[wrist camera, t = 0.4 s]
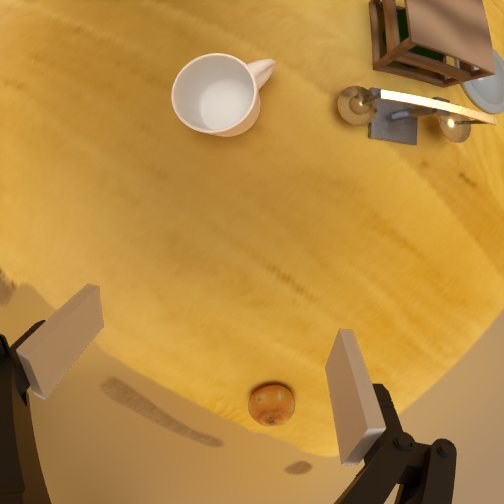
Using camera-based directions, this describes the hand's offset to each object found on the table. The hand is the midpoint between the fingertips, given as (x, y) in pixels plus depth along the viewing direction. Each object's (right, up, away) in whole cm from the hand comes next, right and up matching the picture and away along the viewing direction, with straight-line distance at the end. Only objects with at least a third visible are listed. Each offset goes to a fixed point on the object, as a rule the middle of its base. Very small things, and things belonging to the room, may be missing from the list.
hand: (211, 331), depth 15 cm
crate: (+25, +34, +15) cm, 45 cm away
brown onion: (+6, -22, +37) cm, 43 cm away
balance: (+21, +23, +19) cm, 37 cm away
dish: (+40, +32, +15) cm, 53 cm away
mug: (0, +24, +21) cm, 32 cm away
